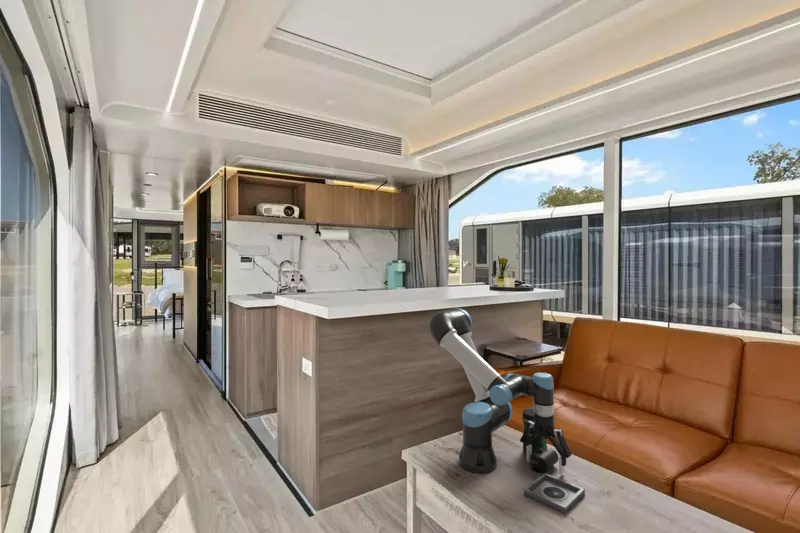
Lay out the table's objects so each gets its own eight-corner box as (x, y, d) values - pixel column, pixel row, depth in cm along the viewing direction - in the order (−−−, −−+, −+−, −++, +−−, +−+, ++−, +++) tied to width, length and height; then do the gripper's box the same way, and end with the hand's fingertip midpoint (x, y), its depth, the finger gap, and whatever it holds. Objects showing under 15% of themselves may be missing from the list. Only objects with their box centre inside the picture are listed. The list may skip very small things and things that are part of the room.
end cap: (547, 477, 158) (547, 459, 158) (529, 470, 163) (529, 453, 163) (558, 467, 165) (558, 450, 165) (541, 461, 170) (541, 444, 170)
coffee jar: (550, 453, 176) (549, 410, 175) (541, 460, 171) (540, 415, 170) (529, 445, 183) (528, 404, 182) (519, 452, 178) (519, 409, 177)
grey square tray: (523, 495, 147) (523, 489, 147) (544, 478, 157) (544, 472, 157) (565, 514, 136) (565, 507, 136) (584, 494, 146) (584, 488, 146)
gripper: (510, 408, 170) (512, 459, 170) (570, 425, 152) (572, 482, 152) (520, 403, 175) (521, 453, 176) (579, 419, 157) (580, 474, 157)
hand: (545, 466), depth 164 cm, fingers open, 13 cm apart
